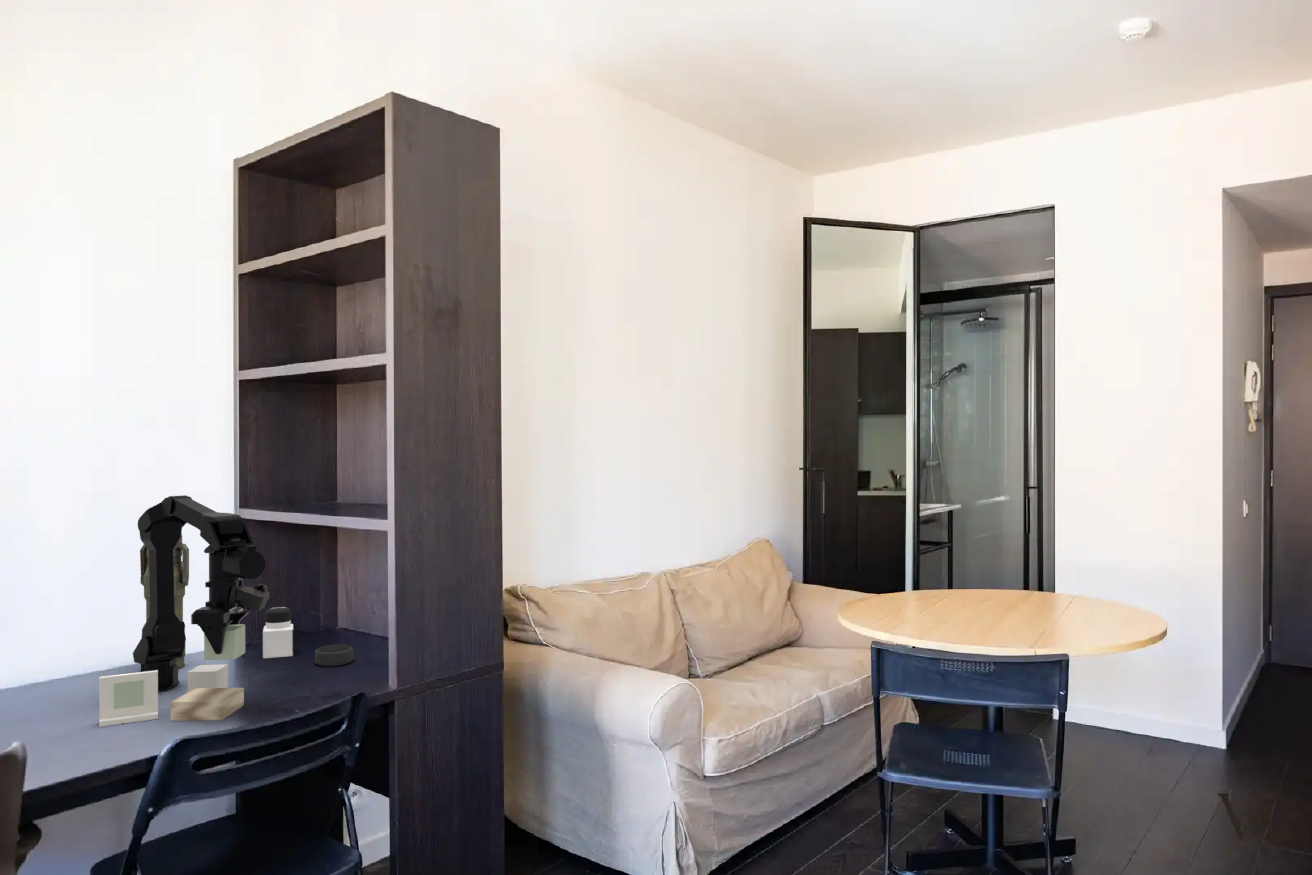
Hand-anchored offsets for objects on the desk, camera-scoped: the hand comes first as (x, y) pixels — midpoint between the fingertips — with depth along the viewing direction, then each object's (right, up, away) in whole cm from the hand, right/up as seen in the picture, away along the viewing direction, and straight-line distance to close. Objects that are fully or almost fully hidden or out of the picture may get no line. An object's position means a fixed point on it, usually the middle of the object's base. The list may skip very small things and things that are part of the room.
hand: (224, 650), depth 187 cm
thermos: (-30, -12, +32) cm, 46 cm away
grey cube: (-8, -12, +8) cm, 16 cm away
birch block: (-1, -12, -4) cm, 13 cm away
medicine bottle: (-8, -12, +46) cm, 48 cm away
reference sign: (-15, -12, -9) cm, 21 cm away
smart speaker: (+10, -12, +37) cm, 40 cm away
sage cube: (0, -1, 0) cm, 1 cm away
